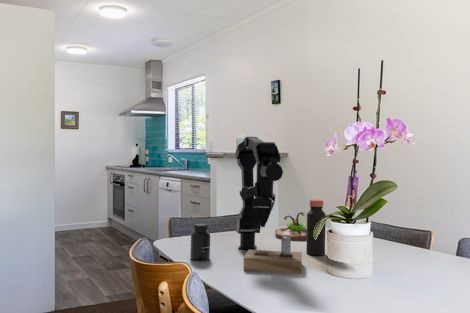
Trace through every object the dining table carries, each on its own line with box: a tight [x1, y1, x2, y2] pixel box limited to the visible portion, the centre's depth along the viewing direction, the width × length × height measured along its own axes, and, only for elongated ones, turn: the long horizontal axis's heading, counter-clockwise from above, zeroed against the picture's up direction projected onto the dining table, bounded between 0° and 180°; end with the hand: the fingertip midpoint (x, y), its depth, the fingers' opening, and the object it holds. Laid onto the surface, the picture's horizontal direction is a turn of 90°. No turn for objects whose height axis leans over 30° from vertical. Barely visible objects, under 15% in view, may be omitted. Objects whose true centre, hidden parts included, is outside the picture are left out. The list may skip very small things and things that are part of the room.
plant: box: [274, 211, 307, 242], centre depth 199 cm, size 20×20×11 cm
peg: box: [280, 236, 292, 257], centre depth 144 cm, size 3×3×10 cm
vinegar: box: [305, 199, 327, 257], centre depth 164 cm, size 7×7×20 cm
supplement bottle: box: [190, 223, 211, 262], centre depth 155 cm, size 7×7×12 cm
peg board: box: [243, 249, 303, 275], centre depth 145 cm, size 12×18×4 cm, turn 81°
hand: (264, 224), depth 151 cm, fingers open, 9 cm apart
